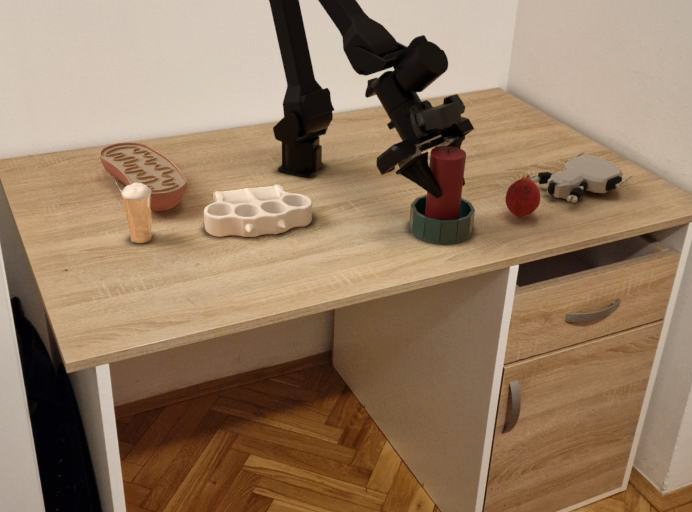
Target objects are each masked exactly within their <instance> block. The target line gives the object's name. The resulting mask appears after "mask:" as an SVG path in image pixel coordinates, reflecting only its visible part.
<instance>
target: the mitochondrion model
mask: <svg viewBox="0 0 692 512" xmlns="http://www.w3.org/2000/svg"><path fill="white" fill-rule="evenodd" d="M99 158H100V163H101V165H102V167H103V168H104V170H105V171H106V172H107V173H108V174H109V175H110V176H112V177H113V178H115V179H117V180H118V181H120V182H121V183H123V184H124V185H125V187H126V186H128V185H131V184H133V183H142V184H145V185H146V186H147V187H149V188H150V189H151V211H153V212H154V211H156V212H164V211H167V210H170V209H173V208H174V207H176V206H177V205H178V204H179V203H180V202H181V201H182V199H183V198H184V196H185V192H186V189H187V179H186V176H185V175H184V174H183V173H182V171H181V170H180V168H179V167H178V166H177V165H176V164H175V163H174V162H173V161H172V160H171V159H170V158H168V157H167V156H166V155H164V154H162V153H161V152H159V151H157V150H156V149H154V148H153V147H151V146H149V145H147V144H144V143H139V142H130V141H129V142H118V143H113V144H110V145H108V146H105V147H104V148H102V149H101V150H100V152H99Z"/></svg>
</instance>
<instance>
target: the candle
mask: <svg viewBox="0 0 692 512" xmlns="http://www.w3.org/2000/svg"><path fill="white" fill-rule="evenodd" d="M466 161H467V152H466V151H465V150H464V149H462V148H457V147H453V146H439V147H433V148H431V149H430V155H429V164H428V165H429V167H430V169H431V171H432V173H433V175H434V177H435V179H436V181H437V183H438V185H439V187H440V190H441V192H442V196H441V197H440V198H436V197H434V196H433V195H432V194H430V193H429V192H427V191H426V195H427V198H426V209H425V216H426V217H428V218H433V219H438V220H457V219H459V214H460V205H461V198H462V195H463V187H464V186H463V179H464V180H465V168H466Z"/></svg>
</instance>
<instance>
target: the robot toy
mask: <svg viewBox="0 0 692 512" xmlns="http://www.w3.org/2000/svg"><path fill="white" fill-rule="evenodd" d="M623 176H624V172H623V171H622V170H621V169H620V167H618V166H617V165H616V164H614V163H613V162H611V161H609V160H607V159H605V158H602V157H599V156H596V155H592V154H585V150H584V151H583V150H582V151H581V152H580V153H578V154H576V156H574V157H572V158H569V159H567V160H566V161H565V163H564V167H563V170H559V171H556V172H553V173H552V172H549V171H542V172H538V174H537V175H535V174H533V175H530V180H532V181H533V182H534V183H535V184H536V183H538V184H539V185H546V193H547V194H549V195H551V196H553V198H557V199H559V198H561V199H563V200H566V201H567V202H569V203H570V202H571V203H574V204H576V203H578V202H579V201H580V200H581V199H582V197H583V195H584V192H586V191H587V192H591V193H594V194H595V193H596V194H605V193H608V192H611V191H613V190H617V189H618V188H620V187H621V186H622V185H623V184H624V183H626V182H627V181H628V180H630V179H632V178H633V177H634V174H630V175H628V176H627V177H626V178H625V179H623Z"/></svg>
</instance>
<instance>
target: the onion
mask: <svg viewBox="0 0 692 512" xmlns="http://www.w3.org/2000/svg"><path fill="white" fill-rule="evenodd" d="M530 176H531V175H530V174H529V173H525V174H523V176H522V177H521V178H520V179H517V180H516V181H513V183H512V184H510V185H509V186H508V188H507V190H506V193H505V199H504V200H505V206H506V208H507V209H508V211H509V212H510V213H511V214H512V215H513V216H515V217H516V218H518V219H523V218H525V217H528V216H530V215H531V214H533V213H534V212H535V211H536V210H537V209H538V208H539V206H540V204H541V191H540V189H539V187H538V185H537V184H536V183H534V182H533V181H532V180H530Z"/></svg>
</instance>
